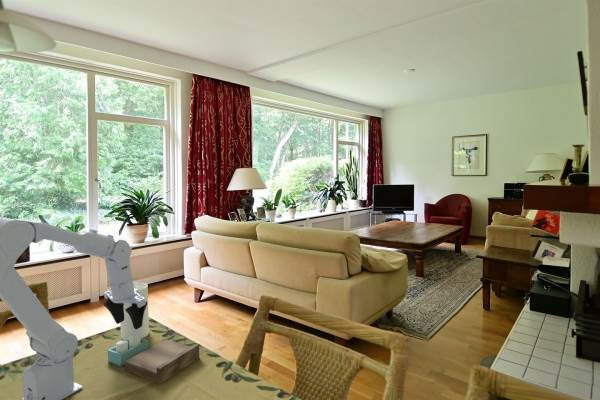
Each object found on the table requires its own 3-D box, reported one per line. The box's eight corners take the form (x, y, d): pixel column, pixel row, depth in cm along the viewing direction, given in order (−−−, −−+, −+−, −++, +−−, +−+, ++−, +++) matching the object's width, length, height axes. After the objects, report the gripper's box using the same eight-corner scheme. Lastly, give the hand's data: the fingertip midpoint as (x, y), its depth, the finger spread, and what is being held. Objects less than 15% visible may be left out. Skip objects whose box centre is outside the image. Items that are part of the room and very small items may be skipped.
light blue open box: (121, 367, 97) (120, 349, 96) (108, 361, 99) (107, 344, 98) (148, 351, 105) (148, 335, 104) (136, 347, 107) (135, 331, 106)
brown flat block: (160, 383, 89) (159, 368, 89) (125, 370, 95) (124, 355, 95) (199, 357, 102) (199, 344, 101) (166, 347, 108) (166, 334, 107)
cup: (153, 329, 119) (152, 283, 117) (140, 341, 111) (138, 291, 109) (130, 328, 120) (128, 281, 118) (115, 340, 111) (113, 290, 110)
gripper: (151, 278, 99) (158, 322, 102) (116, 271, 105) (124, 312, 108) (129, 289, 92) (137, 336, 95) (93, 281, 99) (102, 325, 102)
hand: (129, 324), depth 101 cm, fingers open, 7 cm apart
